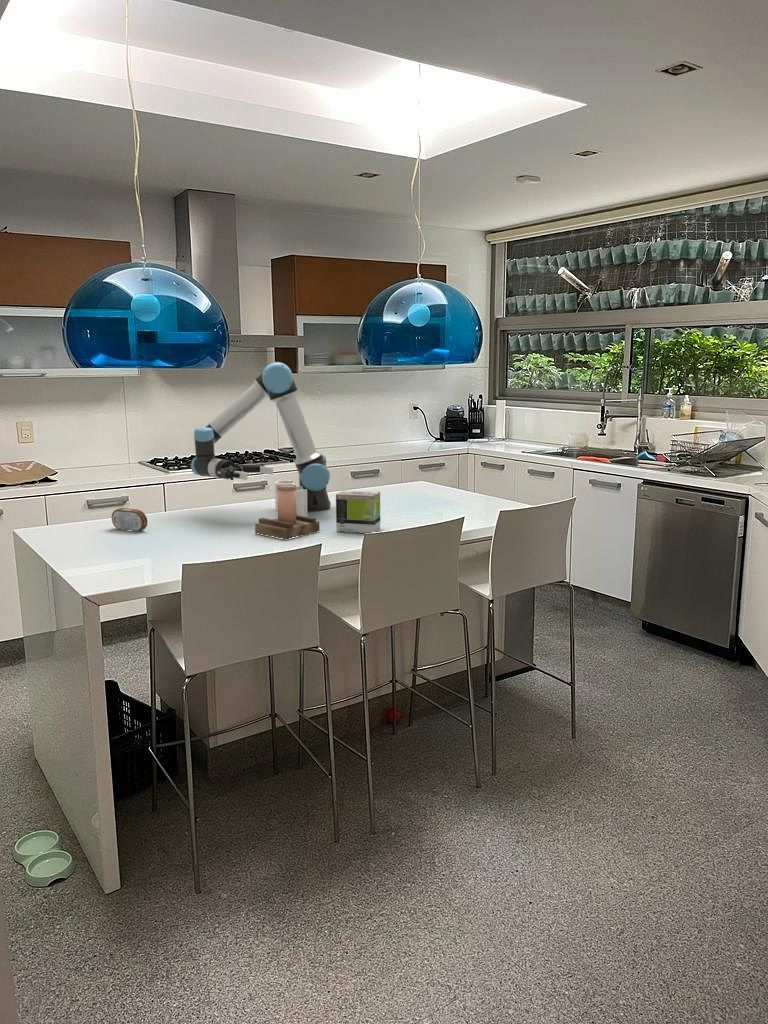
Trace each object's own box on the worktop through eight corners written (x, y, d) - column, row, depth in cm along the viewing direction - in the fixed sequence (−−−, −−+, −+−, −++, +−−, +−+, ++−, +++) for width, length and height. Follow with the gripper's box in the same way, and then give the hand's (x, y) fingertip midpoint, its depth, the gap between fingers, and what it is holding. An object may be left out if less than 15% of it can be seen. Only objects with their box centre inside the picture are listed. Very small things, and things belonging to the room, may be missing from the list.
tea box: (380, 528, 308) (381, 491, 305) (373, 534, 299) (373, 495, 296) (343, 526, 312) (343, 488, 309) (335, 531, 303) (335, 493, 299)
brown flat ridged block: (289, 525, 312) (288, 511, 311) (319, 531, 303) (319, 517, 302) (255, 533, 298) (254, 519, 297) (285, 540, 289) (285, 525, 288)
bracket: (271, 508, 344) (271, 481, 342) (294, 507, 348) (293, 479, 345) (284, 520, 321) (284, 491, 319) (308, 519, 325) (308, 489, 322)
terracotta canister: (287, 519, 305) (286, 483, 302) (300, 522, 300) (300, 485, 298) (273, 522, 299) (272, 485, 296) (287, 525, 295) (286, 488, 292)
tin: (148, 531, 302) (147, 509, 300) (143, 533, 299) (141, 511, 297) (116, 528, 307) (115, 506, 305) (110, 529, 304) (109, 508, 302)
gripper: (245, 473, 327) (283, 478, 314) (198, 483, 308) (235, 488, 295) (244, 455, 325) (282, 459, 313) (196, 463, 306) (234, 468, 293)
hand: (259, 473), depth 304 cm, fingers open, 13 cm apart
